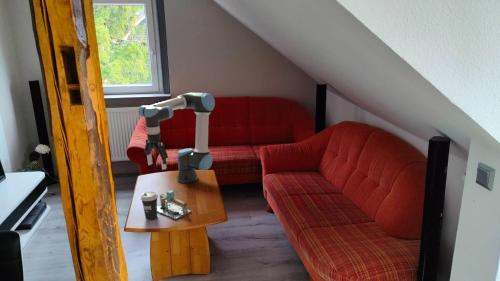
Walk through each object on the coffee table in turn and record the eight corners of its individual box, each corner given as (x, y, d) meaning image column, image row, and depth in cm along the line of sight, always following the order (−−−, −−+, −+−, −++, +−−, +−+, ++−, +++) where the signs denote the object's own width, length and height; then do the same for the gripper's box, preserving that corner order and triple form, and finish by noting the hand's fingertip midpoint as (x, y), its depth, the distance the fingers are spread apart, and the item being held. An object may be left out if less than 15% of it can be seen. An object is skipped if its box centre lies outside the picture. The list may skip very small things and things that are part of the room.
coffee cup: (144, 214, 221) (142, 191, 217) (160, 213, 222) (158, 190, 217) (141, 222, 212) (138, 198, 207) (158, 220, 212) (155, 197, 208)
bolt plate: (167, 203, 235) (167, 201, 234) (191, 212, 222) (191, 210, 221) (152, 210, 226) (151, 208, 225) (176, 220, 213) (175, 218, 212)
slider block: (172, 205, 228) (170, 190, 225) (175, 206, 226) (173, 191, 223) (165, 209, 224) (163, 193, 221) (168, 210, 222) (166, 194, 219)
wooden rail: (163, 203, 232) (162, 193, 231) (187, 212, 219) (186, 202, 217) (157, 206, 228) (156, 196, 227) (181, 216, 215) (180, 205, 214)
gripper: (135, 131, 222) (139, 164, 228) (161, 137, 207) (165, 172, 213) (146, 128, 228) (149, 160, 234) (172, 134, 213) (175, 169, 219)
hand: (157, 166), depth 224 cm, fingers open, 13 cm apart
